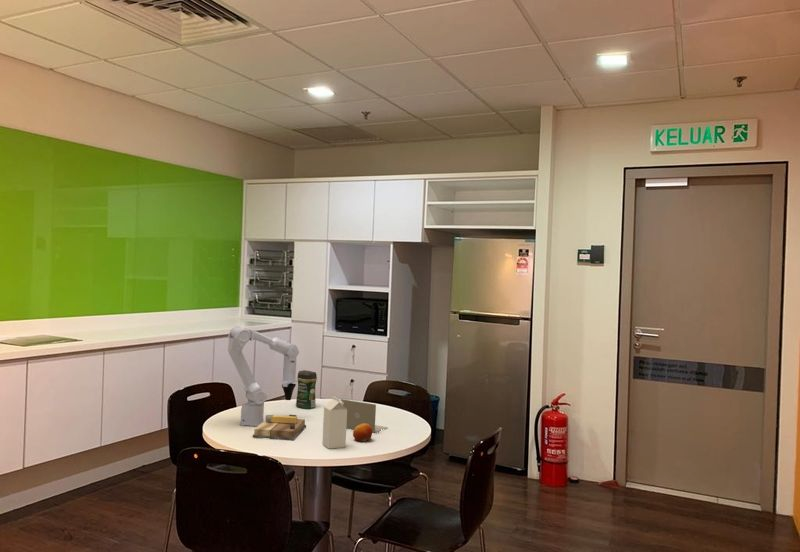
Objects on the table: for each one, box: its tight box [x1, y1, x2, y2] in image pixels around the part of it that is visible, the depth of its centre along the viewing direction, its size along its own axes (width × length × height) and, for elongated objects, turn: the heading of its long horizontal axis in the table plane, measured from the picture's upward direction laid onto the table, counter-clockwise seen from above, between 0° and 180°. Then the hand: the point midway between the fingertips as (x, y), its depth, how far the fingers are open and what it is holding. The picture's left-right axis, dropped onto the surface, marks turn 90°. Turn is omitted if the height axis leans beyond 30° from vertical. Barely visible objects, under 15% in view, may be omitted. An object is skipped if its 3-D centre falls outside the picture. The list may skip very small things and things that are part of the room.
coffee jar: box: [295, 369, 318, 410], centre depth 299 cm, size 10×8×19 cm
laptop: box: [340, 398, 388, 434], centre depth 263 cm, size 18×12×13 cm
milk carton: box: [321, 395, 347, 450], centre depth 233 cm, size 7×7×19 cm
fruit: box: [352, 423, 373, 443], centre depth 243 cm, size 8×8×8 cm
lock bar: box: [265, 414, 298, 424], centre depth 251 cm, size 13×3×2 cm, turn 88°
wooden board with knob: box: [252, 414, 307, 441], centre depth 249 cm, size 17×22×6 cm
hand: (288, 399), depth 270 cm, fingers closed
